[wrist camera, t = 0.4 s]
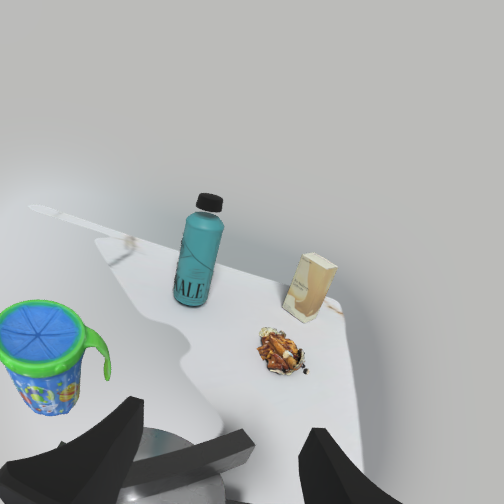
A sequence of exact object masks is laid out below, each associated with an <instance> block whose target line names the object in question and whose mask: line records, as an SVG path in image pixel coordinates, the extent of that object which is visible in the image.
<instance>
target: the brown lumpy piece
mask: <svg viewBox="0 0 504 504" xmlns="http://www.w3.org/2000/svg"><path fill="white" fill-rule="evenodd" d="M259 336H261V337H263V338H262V343H263V346H261V347H259V348H257V350H258V351H259V354H260V356H261V358H262V359H263V360H265V359H267V360H268V361H269V363H268V369H269V370H270V371H273V372H277V373H279V374H280V375H282V374H283V375H284V374H287V375H291V374H292V372H294V371H296V370H298V369H299V368H300V367H302V368H305V365H304V364H303V363H304V362H305V360H304V354H305V352H304V351H303V350H302V349H299V350H298V348H297V346H296V345H295V343H294V342H293V341H292V340H290V339H285V337H286V334H285V333H284V331H282V330H281V331H280V333H278V332H277V329H272V328H271V327H270V328H267V327H265V328H262V329H261V331H260V332H259ZM302 365H303V366H302ZM303 373H304V374H309V370H308V369H304V371H303Z"/></svg>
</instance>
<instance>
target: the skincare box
mask: <svg viewBox="0 0 504 504" xmlns="http://www.w3.org/2000/svg"><path fill="white" fill-rule="evenodd" d="M337 268H338V266H336V265H334V264H333V263H331V262H329V261H328V260H327V259H325V258H323V257H321V256H319V255H318V254H316V253H314V252H313V253H306V254H302V256H301V259H300V262H299V264H298V267H297V270H296V272H295V275H294V278H293V280H292V283H291V285H290V288H289V291H288V293H287V296H286V298H285V301H284V303H283V306H282V307H283V308H284V309H285V310H287V311H288V312H289V313H291V314H292V315H293V316H295V317H296V318H297V319H299V320H300V321H301V322H303V323H306V322H308V321H311V320H313V319H315V318H316V316H317V314H318V312H319V309H320V307H321V305H322V303H323V301H324V298H325V296H326V294H327V292H328V289H329V287H330V285H331V282H332V280H333V278H334V275H335V273H336V271H337Z"/></svg>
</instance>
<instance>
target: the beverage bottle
mask: <svg viewBox="0 0 504 504" xmlns="http://www.w3.org/2000/svg"><path fill="white" fill-rule="evenodd" d="M222 203H223V199H222V198H221V197H219V196H217V195H213V194H209V193H201V194H199V197H198V200H197V203H196V207H197V208H199V209H202V210H205V211H209V212H221V211H222ZM223 229H224V225H223V223H222V221H221V220H220V219H219V217H218V216H216V215H214V214H211V213H207V212H195V213H193V214H191V215H190V216H188V217H187V219H186V225H185V230H184V234H183V239H182V241H181V242H182V243H181V244H182V245H181V250H180V256H179V258H178V259H179V262H177V264H178V266H177V269H176V270H177V273H176V276H175V278H176V279H174V280H175V281H174V283H175V285H174V287H173V288H174V289H173V290H174V297H175V298H176V299H177V300H178V301H179V302H181V303H183V304H186V305H192V306H197V305H201V304H203V303H205V301H206V300H207V298H208V295H209V294H208V293H209V289H210V284H211V280H212V276H213V270H214V265H215V261H216V257H217V253H218V248H219V244H220V240H221V236H222V232H223Z"/></svg>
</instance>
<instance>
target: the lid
mask: <svg viewBox="0 0 504 504" xmlns="http://www.w3.org/2000/svg"><path fill="white" fill-rule="evenodd" d="M254 447H255V444H254V443H253V441H252V440H251V439H250V438H249V436H248V435H247V434H246V433H245V431H244V430H243V429H240V430H237V431H235V432H232V433H229V434H226V435H223V436H221V437H218V438H215V439H212V440H209V441H206V442H203V443H200V444H197V445H194V444H192V443H191V442H189V441H187V440H185V439H183V438H182V437H179V436H177V435H175V434H172V433H169V432H166V431H163V430H159V429H154V428H147V427H143V434H142V438H141V441H140V445H139V448H138V451H137V453H136V455H135V458H134V460H133V462H132V464H131V467H130V469H129V471H128V473H127V476H126V478H125V480H124V482H123V485H122V487H121V490H120V492H119V495H118V499H117V502H116V504H225V487H224V484H223V480H222V478H221V476H220V473H222V472H225V471H227V470H230V469H232V468H235V467H237V466H239V465H242V464H244V463H246V461H247V460H248V458H249V456H250V454H251V453H252V451H253V449H254Z"/></svg>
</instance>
